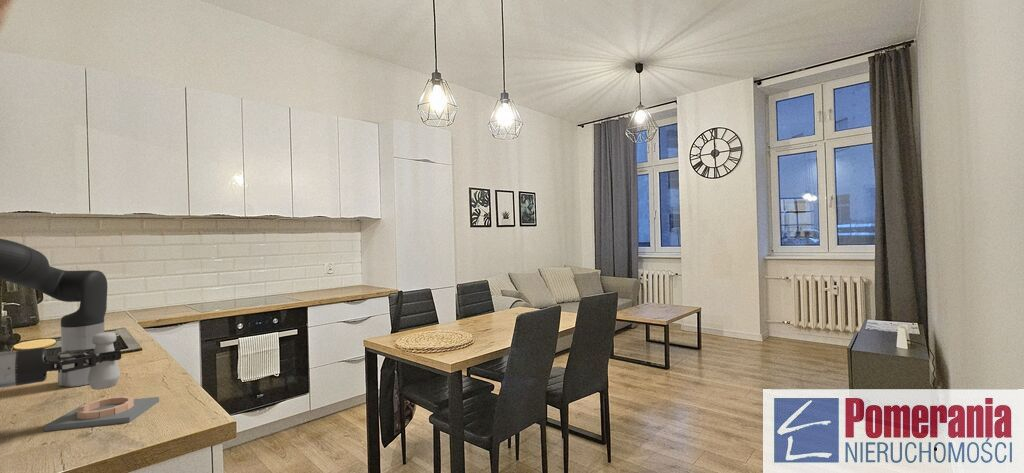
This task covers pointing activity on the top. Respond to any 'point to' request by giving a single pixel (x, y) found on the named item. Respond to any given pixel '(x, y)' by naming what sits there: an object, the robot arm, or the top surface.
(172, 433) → the top surface
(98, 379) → the salt shaker
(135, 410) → the holder
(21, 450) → the top surface
